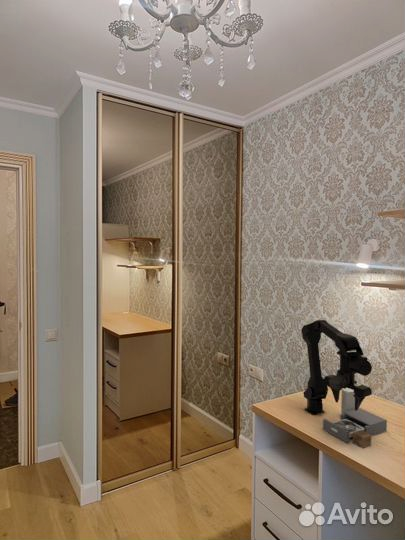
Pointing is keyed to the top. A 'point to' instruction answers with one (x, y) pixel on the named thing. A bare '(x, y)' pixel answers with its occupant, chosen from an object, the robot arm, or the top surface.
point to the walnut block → (362, 439)
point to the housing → (366, 421)
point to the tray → (339, 429)
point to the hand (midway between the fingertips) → (346, 406)
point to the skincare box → (347, 400)
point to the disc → (347, 425)
